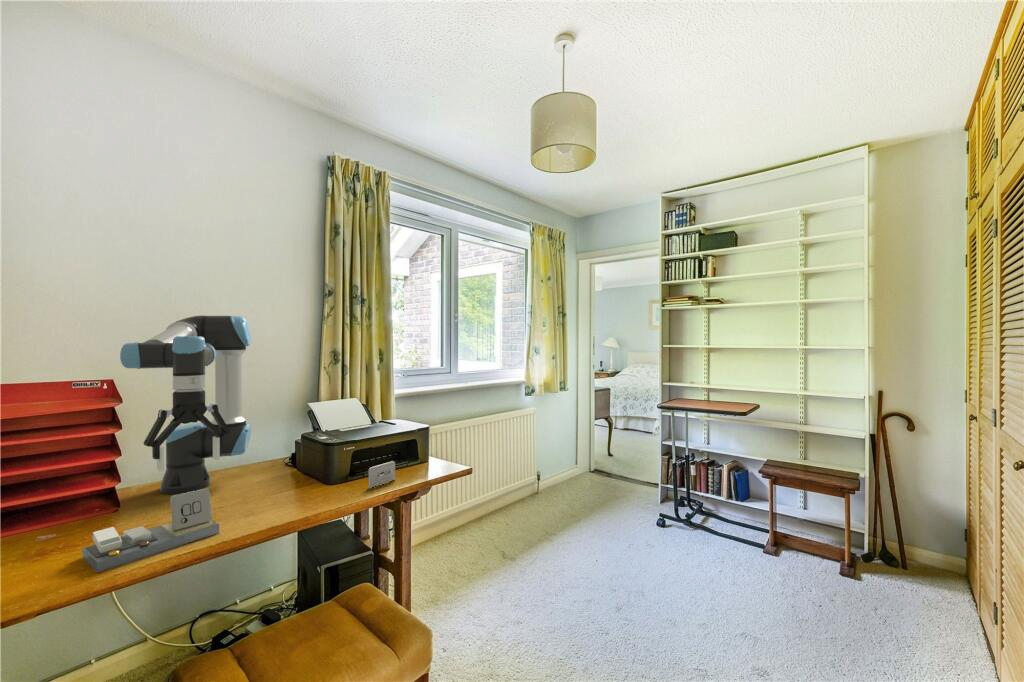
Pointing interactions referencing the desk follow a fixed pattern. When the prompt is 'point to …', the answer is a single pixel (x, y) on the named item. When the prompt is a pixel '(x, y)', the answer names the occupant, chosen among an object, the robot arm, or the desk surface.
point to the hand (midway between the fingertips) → (189, 464)
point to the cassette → (380, 479)
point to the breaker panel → (146, 544)
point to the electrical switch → (190, 508)
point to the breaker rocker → (107, 539)
